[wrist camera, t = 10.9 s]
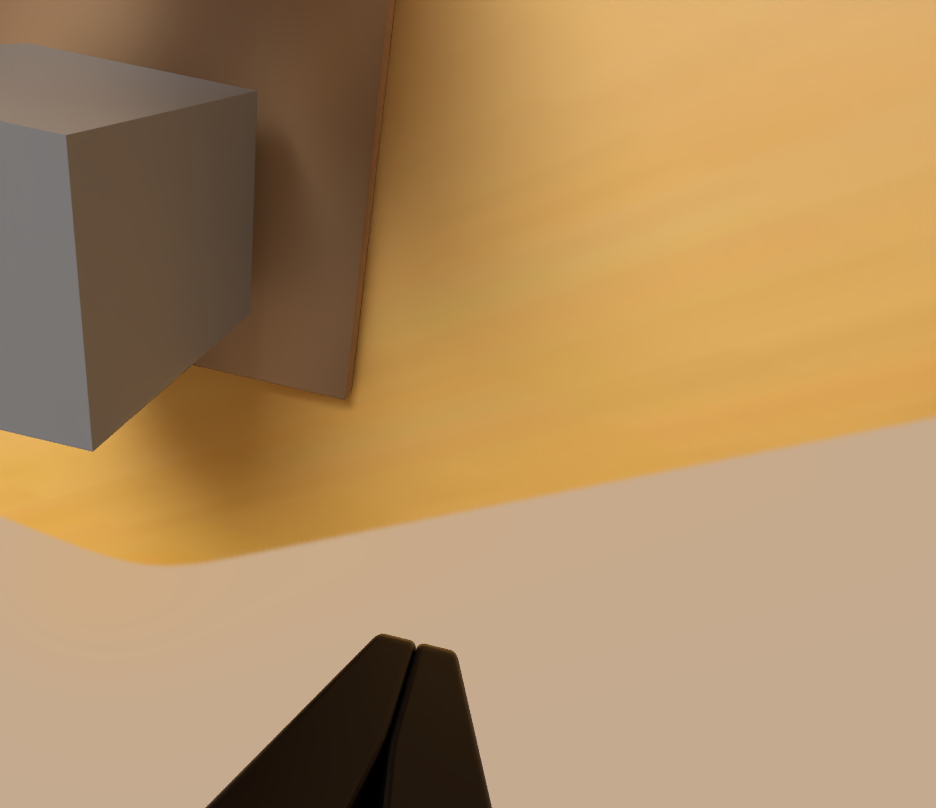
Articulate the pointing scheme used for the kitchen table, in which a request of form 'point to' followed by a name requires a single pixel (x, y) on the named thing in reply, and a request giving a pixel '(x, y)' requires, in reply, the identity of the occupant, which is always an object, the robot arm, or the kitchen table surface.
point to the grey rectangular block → (115, 235)
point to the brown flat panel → (269, 151)
